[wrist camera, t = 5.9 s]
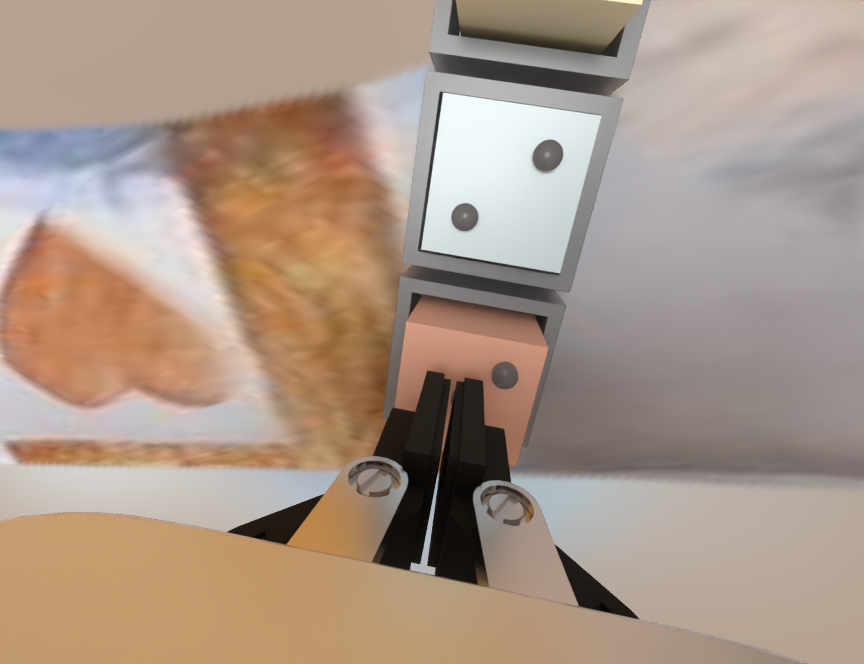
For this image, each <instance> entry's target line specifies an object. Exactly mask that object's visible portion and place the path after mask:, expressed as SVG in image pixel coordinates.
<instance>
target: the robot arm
mask: <svg viewBox="0 0 864 664" xmlns="http://www.w3.org/2000/svg"><path fill="white" fill-rule="evenodd" d="M444 376H445V374H444V373H439V372H433V371H428V370H427V373H426V376H425V380H424V383H423V387H422V390H421V394H420V397H419V401H418V404H417V408H416V411H415V412H414V411H409V410H404V409H399V408H392V410H391V412H390V415H389V417H388V420H387V422H386V425H385V427H384V430H383V432H382V435H381V437H380V440H379V442H378V445H377V447H376V450H375V452H374V455H373V456H367V457H362V458H358V459H356V460H354V461H352V462H350V463H349V464H348V465H347V466H346V467H345V468H344V469H343V470H342V471H341V473H340V474H339V475H338V477H337V478H336V479H335V481H334V482H333V483H332V485H331V486H330V488H329V489H328V490H327V491H326V493H325V494H323V495H320V496H317V497H315V498H312V499H310V500H307V501H304V502H302V503H299V504H296V505H294V506H291V507H288V508H286V509H283V510H281V511H278V512H275V513H273V514H270V515H267V516H265V517H262V518H260V519H257V520H254V521H252V522H249V523H246V524H244V525H241V526H238V527H236V528H234V529H232V530H230V531H228V532H222V531H217V530H212V529H208V528H203V527H198V526H193V525H187V524H181V523H175V522H169V521H163V520H157V519H151V518H145V517H140V516H134V515H123V514H113V513H100V512H70V513H69V512H63V513H54V514H43V515H33V516H23V517H17V518H11V519H6V520H0V664H808V663H805V662H803V661H800V660H797V659H794V658H791V657H788V656H785V655H782V654H779V653H775V652H772V651H769V650H766V649H762V648H758V647H754V646H750V645H746V644H742V643H738V642H734V641H730V640H727V639H723V638H718V637H715V636H711V635H707V634H702V633H699V632H694V631H690V630H685V629H681V628H676V627H671V626H667V625H662V624H658V623H653V622H648V621H643V620H640V619H639V618H638V617H637V616H636V615H635V614H634V613H633V612H632V611H631V610H630V609H629V608H628V607H627V606H625V605H624V604H623V603H622V602H621V601H620V600H618V599H617V598H616V597H615V596H614V595H613V594H612V593H610V592H609V591H608V590H607V589H606V588H605V587H604V586H602V585H601V584H600V583H599V582H598V581H597V580H595V579H594V578H593V577H592V576H591V575H590V574H589V573H587V572H586V571H585V570H584V569H583V568H581V567H580V566H579V565H578V564H577V563H576V562H575V561H573V560H572V559H571V558H570V557H569V556H568V555H567V554H565V553H564V552H563V551H562V550H561V549H560V548H559V547H557V546H556V545H555V544H554V542H553V539H552V537H551V534H550V532H549V529H548V527H547V524H546V521H545V519H544V516H543V514H542V511H541V509H540V507H539V505H538V503H537V501H536V500H535V498H534V497H533V496H531V495H530V494H529V492H527V491H525V490H524V489H523V488H521V487H519V486H517V485H515V484H512V483H511V478H510V470H509V462H508V454H507V445H506V437H505V430H504V429H503V428H498V427H493V426H488V425H485V418H484V390H483V381H482V380H477V379H471V378H466V377H465V379H464V382H461V381H457V383H456V388H455V393H454V398H453V403H452V408H451V414H450V419H449V424H448V429H447V434H446V440H445V445H444V450H443V455H442V461H441V467H440V474H439V481H438V490H437V496H436V504H435V511H434V519H433V526H432V534H431V542H430V549H429V557H428V564H427V566H431V567H436V569H435V575H430V574H425V573H420V572H415V571H411V570H410V566H411V562H412V563H417V564H420V562H421V557H422V552H423V547H424V542H425V536H426V530H427V526H428V520H429V515H430V510H431V505H432V500H433V495H434V489H435V484H436V479H437V474H438V468H439V463H440V457H441V450H442V443H443V436H444V429H445V422H446V414H447V407H448V400H449V393H450V385H451V380H450V379H445V378H444Z"/></svg>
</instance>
